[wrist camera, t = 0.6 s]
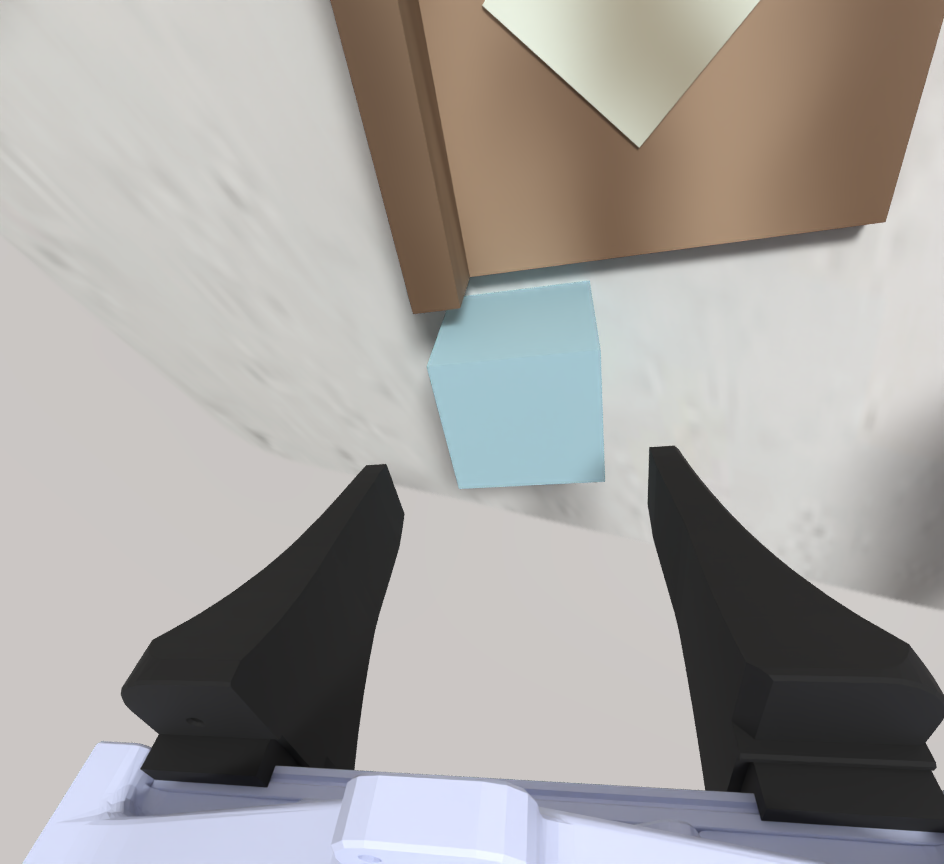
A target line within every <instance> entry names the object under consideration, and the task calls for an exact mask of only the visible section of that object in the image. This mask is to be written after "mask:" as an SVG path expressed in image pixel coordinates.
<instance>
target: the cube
mask: <svg viewBox="0 0 944 864" xmlns="http://www.w3.org/2000/svg"><path fill="white" fill-rule="evenodd" d="M427 370H428V373H429V377H430V381H431V385H432V388H433V392H434V396H435V400H436V404H437V407H438V411H439V415H440V419H441V423H442V426H443V430H444V434H445V438H446V441H447V445H448V449H449V453H450V457H451V460H452V464H453V468H454V472H455V475H456V479H457V483H458V487H459V489H466V488H486V487H507V486H527V485H547V484H567V483H587V482H605V466H604V437H603V408H602V379H601V350H600V343H599V337H598V331H597V325H596V318H595V312H594V306H593V300H592V293H591V287H590V281H582V282H574V283H566V284H558V285H550V286H542V287H534V288H526V289H518V290H510V291H502V292H494V293H486V294H478V295H470V296H464V298H463V301H462V304H461V308H459V309H451V310H447V311H446V313H445V316H444V319H443V322H442V325H441V328H440V330H439V333H438V336H437V339H436V342H435V345H434V347H433V350H432V353H431V356H430V359H429V362H428V364H427Z"/></svg>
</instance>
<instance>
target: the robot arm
mask: <svg viewBox="0 0 944 864" xmlns="http://www.w3.org/2000/svg"><path fill="white" fill-rule="evenodd" d="M648 509H649V515H650V522H651V528H652V534H653V539H654V543H655V546H656V550H657V553H658V557H659V560H660V564H661V567H662V571H663V574H664V578H665V581H666V584H667V588H668V592H669V595H670V599H671V602H672V605H673V609H674V612H675V616H676V620H677V624H678V629H679V634H680V639H681V645H682V650H683V655H684V661H685V666H686V672H687V677H688V684H689V690H690V696H691V701H692V706H693V713H694V719H695V726H696V732H697V738H698V745H699V751H700V758H701V764H702V771H703V778H704V785H705V791H702V790H686V789H685V790H684V789H668V788H650V787H633V786H617V785H600V784H582V783H565V782H546V781H530V780H513V779H496V778H479V777H461V776H444V775H427V774H426V775H425V774H410V773H392V772H374V771H358V770H354V768H355V759H356V750H357V740H358V731H359V724H360V717H361V709H362V703H363V695H364V689H365V683H366V677H367V671H368V665H369V659H370V654H371V649H372V644H373V638H374V633H375V629H376V625H377V621H378V617H379V613H380V610H381V607H382V603H383V600H384V597H385V593H386V590H387V587H388V583H389V580H390V577H391V573H392V570H393V567H394V563H395V560H396V557H397V553H398V550H399V546H400V540H401V534H402V528H403V521H404V511H403V509H402V506H401V503H400V500H399V498H398V495H397V492H396V489H395V487H394V484H393V481H392V478H391V476H390V473H389V470H388V467H387V465H386V464H380V465H366V466H365V467H364V468H363V470H362V471H361V472H360V473H359V474H358V475H357V476H356V477H355V478H354V480H353V481H352V482H351V483H350V484H349V485H348V486H347V488H346V489H345V490H344V491H343V492H342V493H341V495H339V497H338V498H337V499H336V500H335V501H334V502H333V503H332V504H331V505H330V507H329V508H328V509H327V510H326V511H325V512H324V513H323V514H322V515H321V516H320V517H319V518H318V519H317V520H316V521H315V522H314V523H313V524H312V525H311V526H310V527H309V528H308V529H307V530H306V531H305V532H304V533H303V534H302V535H301V536H300V537H299V539H297V540H296V541H295V542H294V543H293V544H292V545H291V546H290V547H289V548H288V549H287V550H285V551H284V552H283V553H282V554H281V555H280V556H279V557H278V558H276V559H275V560H274V561H273V562H271V563H270V564H269V565H268V566H267V567H266V568H264V569H263V570H262V571H260V572H259V573H258V574H257V575H255V576H254V577H252V578H251V579H250V580H248V581H247V582H246V583H244V584H243V585H242V586H240V587H239V588H238V589H236V590H235V591H233V592H232V593H231V594H229V595H228V596H226V597H225V598H223V599H222V600H220V601H219V602H217V603H216V604H214V605H212V606H211V607H209V608H208V609H206V610H205V611H203V612H202V613H200V614H198V615H196V616H195V617H193V618H191V619H190V620H188V621H186V622H184V623H183V624H181V625H179V626H177V627H175V628H174V629H172V630H170V631H168V632H166V633H165V634H163V635H161V636H159V637H157V638H155V639H153V640H152V642H151V643H150V645H149V646H148V648H147V649H146V651H145V652H144V654H143V656H142V657H141V659H140V660H139V662H138V663H137V665H136V667H135V668H134V670H133V671H132V673H131V675H130V676H129V678H128V679H127V681H126V682H125V684H124V685H123V687H122V690H121V696H122V699H123V701H124V703H125V705H126V706H127V707H128V708H129V709H130V710H131V711H132V712H133V713H134V714H136V715H137V716H138V717H139V718H140V719H142V720H143V721H144V722H145V723H146V724H148V725H149V726H150V727H151V728H152V729H154V730H155V731H156V732H157V733H158V734H159V735H158V737H157V739H156V741H155V743H154V744H153V746H152V748H151V747H149V746H146V745H143V744H138V743H125V742H104V741H102V742H99V743H97V745H96V746H95V748H94V750H93V751H92V753H91V754H90V756H89V757H88V759H87V761H86V762H85V764H84V765H83V767H82V769H81V770H80V772H79V773H78V775H77V777H76V778H75V780H74V782H73V783H72V785H71V786H70V788H69V790H68V791H67V793H66V794H65V796H64V798H63V799H62V801H61V802H60V804H59V805H58V807H57V809H56V810H55V812H54V814H53V815H52V817H51V818H50V820H49V822H48V823H47V825H46V827H45V828H44V830H43V831H42V833H41V834H40V836H39V838H38V839H37V841H36V842H35V844H34V846H33V848H32V849H31V851H30V852H29V854H28V855H27V857H26V859H25V860H24V862H23V863H22V864H944V790H943V791H942V790H941V789H940V786H939V785H938V783H937V781H936V779H935V777H934V775H933V773H932V771H931V770H935V769H936V762H935V760H934V758H933V756H932V754H931V752H930V750H929V749H928V747H927V745H926V741H927V740H928V739H929V737H930V736H931V735H932V733H933V732H934V731H935V730H936V728H937V727H938V726H939V725H940V723H941V722H942V720H943V719H944V694H943V693H942V691H941V689H940V688H939V686H938V684H937V682H936V681H935V679H934V678H933V676H932V675H931V673H930V672H929V670H928V669H927V668H926V666H925V665H924V663H923V662H922V661H921V659H920V658H919V657H918V656H917V654H916V653H915V652H914V650H913V649H912V648H911V646H910V645H909V644H907V643H906V642H904V641H902V640H901V639H899V638H897V637H895V636H894V635H892V634H890V633H888V632H887V631H885V630H883V629H881V628H880V627H878V626H876V625H874V624H872V623H871V622H869V621H867V620H866V619H864V618H862V617H860V616H859V615H857V614H856V613H854V612H852V611H851V610H849V609H848V608H846V607H845V606H843V605H842V604H840V603H838V602H837V601H835V600H834V599H832V598H831V597H829V596H828V595H826V594H825V593H823V592H822V591H821V590H820V589H818V588H816V587H815V586H814V585H813V584H811V583H810V582H808V581H807V580H806V579H804V578H803V577H802V576H800V575H799V574H797V573H796V572H795V571H793V570H792V569H791V568H790V567H788V566H787V565H786V564H785V563H784V562H782V561H781V560H780V559H779V558H777V557H776V556H775V555H774V554H773V553H772V552H770V551H769V550H768V549H767V548H766V547H765V546H763V545H762V544H761V543H760V542H759V541H758V540H757V539H756V538H755V537H754V536H752V535H751V534H750V533H749V532H748V531H747V530H746V529H745V528H744V527H743V526H742V525H741V524H740V523H739V522H738V521H737V520H736V519H735V518H734V517H733V516H732V515H731V514H730V512H729V511H728V510H727V509H726V508H725V507H724V506H723V505H722V504H721V503H720V502H719V500H718V499H717V498H716V497H715V496H714V495H713V494H712V492H711V491H710V490H709V489H708V488H707V487H706V485H705V484H704V483H703V482H702V480H701V479H700V478H699V477H698V475H697V474H696V473H695V472H694V470H693V469H692V468H691V466H690V465H689V464H688V462H687V461H686V459H685V458H684V456H683V455H682V454H681V452H680V451H679V449H678V448H677V447H675V446H662V447H649V477H648Z"/></svg>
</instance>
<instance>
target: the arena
mask: <svg viewBox="0 0 944 864" xmlns="http://www.w3.org/2000/svg"><path fill="white" fill-rule="evenodd" d="M330 1H331V5H332V8H333V12H334V16H335V20H336V24H337V27H338V31H339V35H340V39H341V42H342V46H343V50H344V54H345V58H346V61H347V65H348V69H349V73H350V77H351V80H352V84H353V88H354V92H355V96H356V99H357V103H358V107H359V111H360V115H361V118H362V122H363V126H364V130H365V133H366V137H367V141H368V145H369V149H370V152H371V156H372V160H373V164H374V168H375V171H376V175H377V179H378V183H379V187H380V190H381V194H382V198H383V202H384V206H385V209H386V213H387V217H388V221H389V224H390V228H391V232H392V236H393V240H394V243H395V247H396V251H397V255H398V259H399V262H400V266H401V270H402V274H403V278H404V281H405V285H406V289H407V293H408V297H409V300H410V304H411V308H412V312H413V314H418V313H426V312H434V311H443V310H451V309H459V308H461V304H462V301H463V298H464V295H465V291H466V288H467V285H468V282H469V278H470V277H474V276H482V275H489V274H497V273H505V272H512V271H520V270H527V269H535V268H542V267H550V266H557V265H565V264H573V263H580V262H588V261H595V260H603V259H610V258H618V257H625V256H633V255H641V254H648V253H656V252H663V251H671V250H678V249H686V248H693V247H701V246H709V245H716V244H724V243H731V242H739V241H746V240H754V239H761V238H769V237H777V236H784V235H792V234H799V233H807V232H814V231H822V230H829V229H837V228H845V227H852V226H860V225H867V224H875V223H882V222H886V218H887V215H888V211H889V208H890V204H891V201H892V197H893V194H894V190H895V187H896V183H897V180H898V176H899V173H900V169H901V166H902V162H903V159H904V155H905V152H906V148H907V145H908V141H909V138H910V134H911V131H912V127H913V124H914V120H915V117H916V113H917V110H918V106H919V103H920V99H921V96H922V92H923V89H924V85H925V82H926V78H927V74H928V71H929V67H930V64H931V60H932V57H933V53H934V50H935V46H936V43H937V39H938V36H939V32H940V29H941V25H942V22H943V18H944V0H330Z"/></svg>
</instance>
